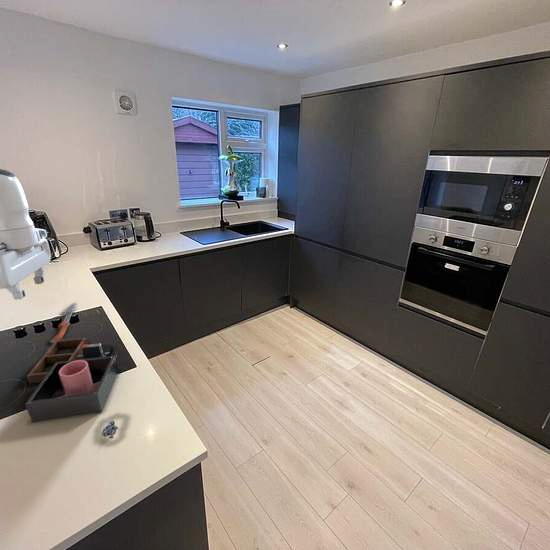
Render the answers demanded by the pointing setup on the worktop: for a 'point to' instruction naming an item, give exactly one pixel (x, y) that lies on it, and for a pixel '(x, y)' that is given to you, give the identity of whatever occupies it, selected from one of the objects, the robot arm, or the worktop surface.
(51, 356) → the wooden divided tray
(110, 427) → the blueberries
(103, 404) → the dark grey open box
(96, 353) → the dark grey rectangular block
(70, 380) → the cup
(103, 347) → the tap panel
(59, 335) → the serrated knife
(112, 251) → the worktop surface
